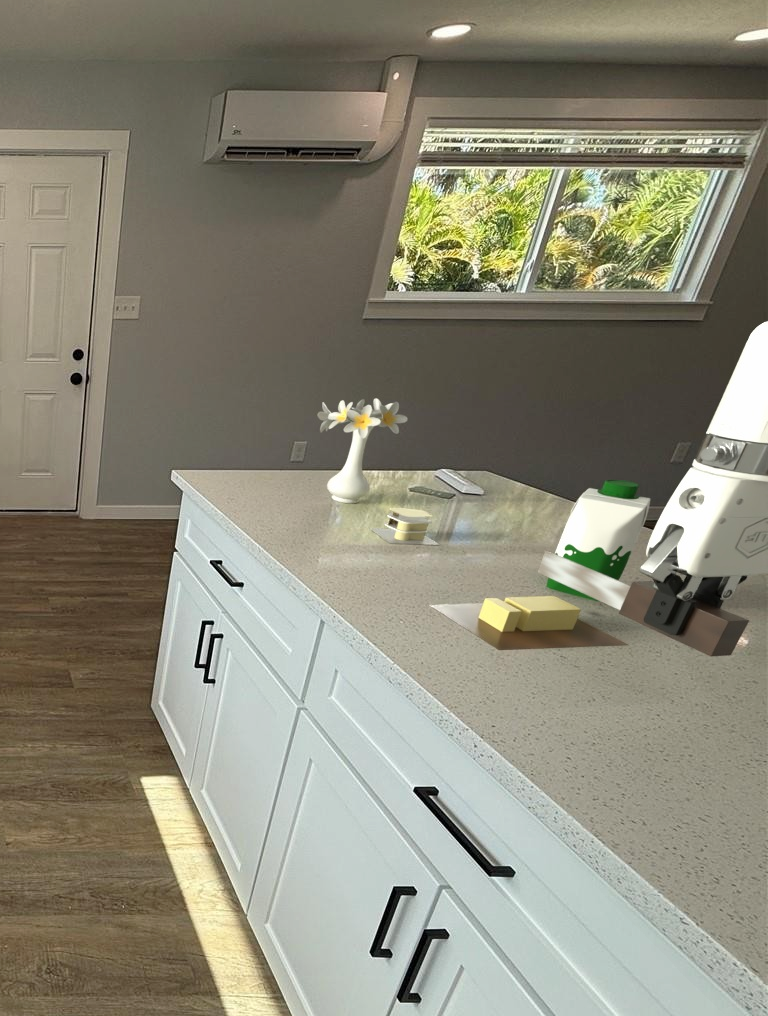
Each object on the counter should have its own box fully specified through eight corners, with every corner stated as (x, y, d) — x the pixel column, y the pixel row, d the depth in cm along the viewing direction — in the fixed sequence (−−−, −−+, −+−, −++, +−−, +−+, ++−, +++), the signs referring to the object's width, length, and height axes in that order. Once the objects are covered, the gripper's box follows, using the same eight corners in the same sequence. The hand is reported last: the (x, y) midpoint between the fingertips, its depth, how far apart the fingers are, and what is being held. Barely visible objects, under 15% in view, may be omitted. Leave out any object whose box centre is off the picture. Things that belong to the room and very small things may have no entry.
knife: (731, 655, 63) (750, 620, 61) (710, 656, 63) (729, 621, 61) (546, 571, 81) (557, 543, 80) (530, 572, 81) (541, 543, 79)
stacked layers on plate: (416, 529, 140) (423, 506, 137) (440, 545, 131) (447, 520, 129) (368, 528, 141) (374, 504, 138) (389, 543, 132) (396, 518, 130)
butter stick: (546, 615, 100) (554, 595, 99) (572, 629, 96) (581, 609, 95) (498, 617, 100) (505, 597, 99) (523, 631, 96) (531, 611, 95)
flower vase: (306, 487, 169) (326, 392, 159) (386, 499, 159) (413, 398, 149) (297, 500, 159) (317, 399, 149) (382, 513, 149) (410, 407, 139)
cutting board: (540, 608, 106) (543, 600, 105) (625, 653, 93) (629, 644, 92) (425, 612, 105) (428, 604, 104) (495, 658, 92) (499, 649, 91)
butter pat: (490, 617, 100) (497, 597, 99) (514, 631, 96) (522, 611, 94) (478, 617, 100) (484, 598, 98) (501, 632, 96) (509, 611, 94)
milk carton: (612, 597, 109) (661, 486, 102) (603, 613, 104) (655, 497, 96) (547, 580, 116) (589, 474, 108) (535, 594, 110) (578, 484, 102)
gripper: (725, 470, 55) (640, 650, 63) (889, 465, 57) (788, 642, 64) (635, 450, 62) (569, 614, 70) (783, 445, 63) (702, 607, 71)
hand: (674, 626), depth 67 cm, fingers closed on knife, 2 cm apart
